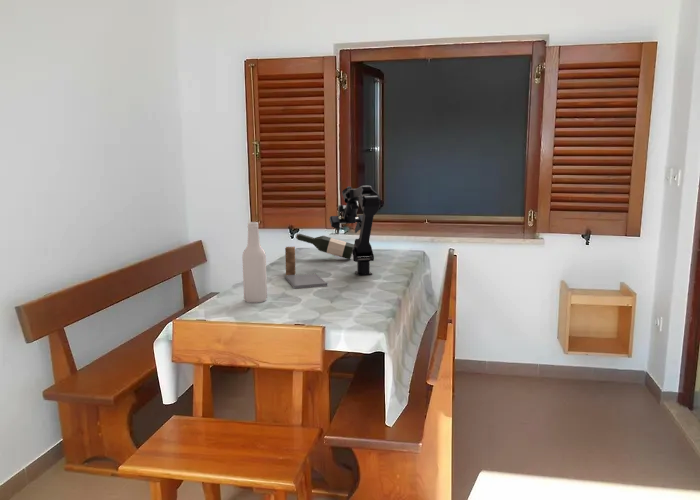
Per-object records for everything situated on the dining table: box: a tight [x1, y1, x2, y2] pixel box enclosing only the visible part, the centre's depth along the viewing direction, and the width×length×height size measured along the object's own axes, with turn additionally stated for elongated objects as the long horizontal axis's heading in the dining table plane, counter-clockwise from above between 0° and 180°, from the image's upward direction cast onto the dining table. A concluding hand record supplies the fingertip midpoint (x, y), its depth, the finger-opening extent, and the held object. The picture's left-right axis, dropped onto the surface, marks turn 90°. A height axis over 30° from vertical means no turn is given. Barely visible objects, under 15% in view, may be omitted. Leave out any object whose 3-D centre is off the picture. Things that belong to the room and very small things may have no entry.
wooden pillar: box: [284, 246, 296, 275], centre depth 261 cm, size 4×4×12 cm
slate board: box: [284, 272, 328, 289], centre depth 247 cm, size 20×14×1 cm
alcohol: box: [241, 221, 268, 304], centre depth 216 cm, size 9×9×30 cm
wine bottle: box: [295, 233, 354, 260], centre depth 295 cm, size 8×8×30 cm
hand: (346, 233), depth 288 cm, fingers open, 9 cm apart
